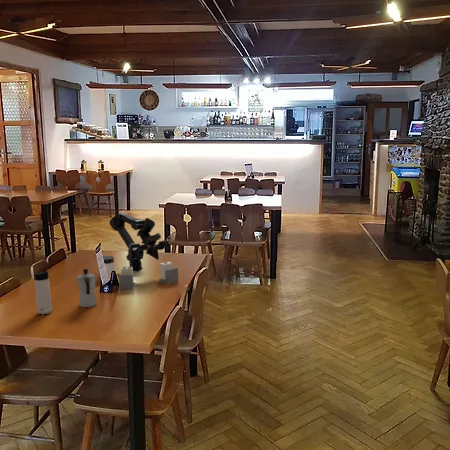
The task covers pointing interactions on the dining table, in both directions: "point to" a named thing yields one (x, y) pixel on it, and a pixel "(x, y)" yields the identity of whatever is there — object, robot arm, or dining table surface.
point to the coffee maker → (87, 289)
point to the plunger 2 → (164, 269)
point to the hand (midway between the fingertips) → (158, 259)
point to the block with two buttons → (127, 270)
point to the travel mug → (42, 292)
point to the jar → (109, 264)
